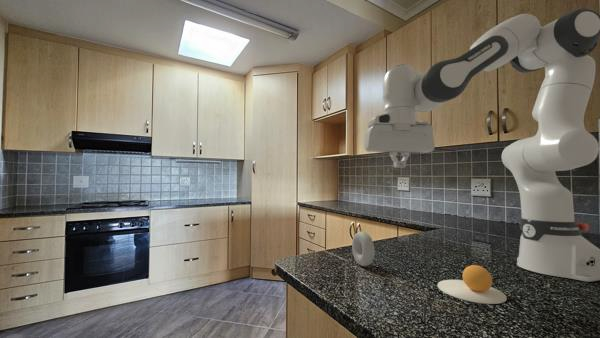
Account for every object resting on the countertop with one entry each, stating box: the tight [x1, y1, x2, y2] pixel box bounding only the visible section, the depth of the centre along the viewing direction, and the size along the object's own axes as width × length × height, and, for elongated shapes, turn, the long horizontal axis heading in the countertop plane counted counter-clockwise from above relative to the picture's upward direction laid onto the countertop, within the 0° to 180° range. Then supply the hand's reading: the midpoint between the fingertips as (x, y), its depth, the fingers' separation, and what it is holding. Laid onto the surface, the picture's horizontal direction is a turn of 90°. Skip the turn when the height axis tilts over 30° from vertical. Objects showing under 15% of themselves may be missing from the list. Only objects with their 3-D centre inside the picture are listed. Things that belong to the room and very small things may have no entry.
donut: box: [351, 231, 375, 268], centre depth 77 cm, size 10×4×10 cm, turn 15°
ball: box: [462, 264, 493, 292], centre depth 59 cm, size 6×6×6 cm
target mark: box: [437, 279, 508, 305], centre depth 59 cm, size 13×13×1 cm
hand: (399, 167), depth 76 cm, fingers closed
